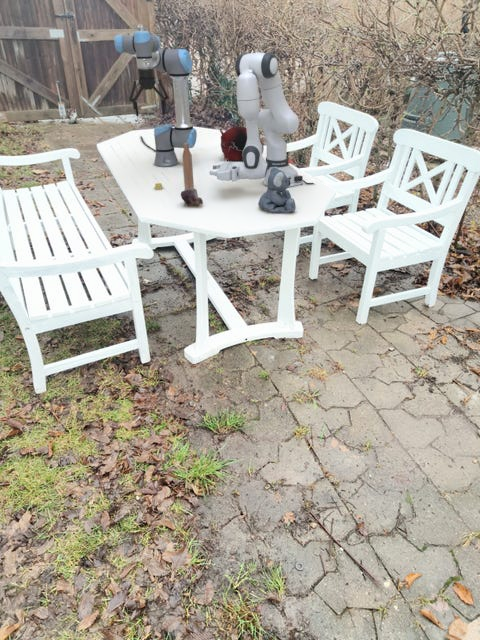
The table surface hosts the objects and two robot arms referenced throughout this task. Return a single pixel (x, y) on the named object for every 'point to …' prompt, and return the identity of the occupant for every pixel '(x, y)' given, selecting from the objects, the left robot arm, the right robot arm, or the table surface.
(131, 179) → the table surface
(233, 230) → the table surface
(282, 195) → the koala plush
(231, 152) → the decorative skull
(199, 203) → the rock
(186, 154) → the bottle
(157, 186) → the cap
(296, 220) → the table surface
